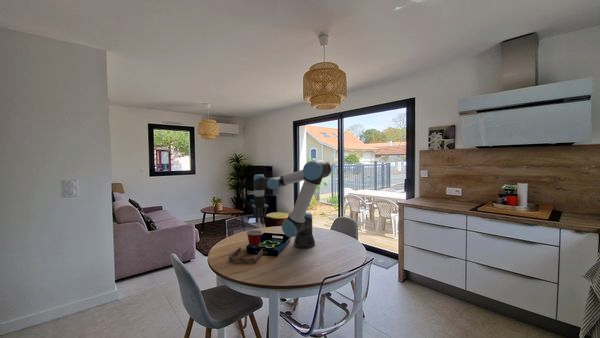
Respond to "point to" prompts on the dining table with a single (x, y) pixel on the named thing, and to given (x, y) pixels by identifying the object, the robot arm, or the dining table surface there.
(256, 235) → the plastic cup
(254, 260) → the frame
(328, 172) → the robot arm
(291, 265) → the dining table surface
